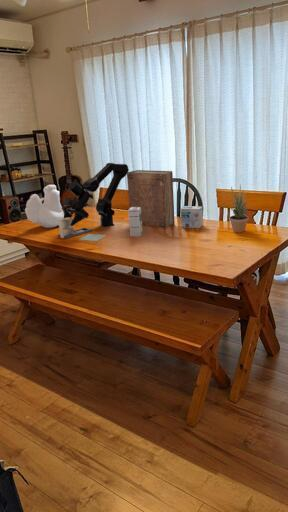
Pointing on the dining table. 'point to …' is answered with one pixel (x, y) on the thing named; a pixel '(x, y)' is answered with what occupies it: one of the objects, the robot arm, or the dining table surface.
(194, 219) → the light bulb box
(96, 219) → the dining table surface
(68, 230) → the beige rectangular block
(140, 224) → the syrup box
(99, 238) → the mat
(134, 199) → the book
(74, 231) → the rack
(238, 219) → the potted plant
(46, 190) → the decorative rooster
